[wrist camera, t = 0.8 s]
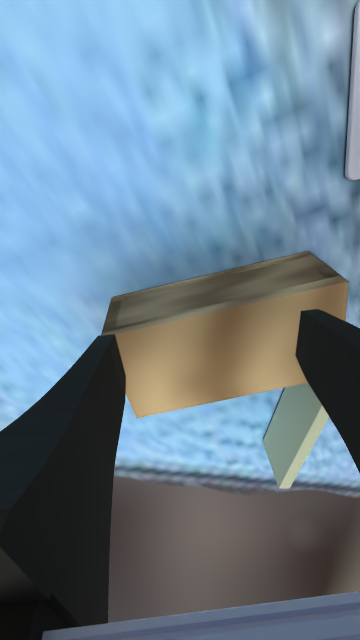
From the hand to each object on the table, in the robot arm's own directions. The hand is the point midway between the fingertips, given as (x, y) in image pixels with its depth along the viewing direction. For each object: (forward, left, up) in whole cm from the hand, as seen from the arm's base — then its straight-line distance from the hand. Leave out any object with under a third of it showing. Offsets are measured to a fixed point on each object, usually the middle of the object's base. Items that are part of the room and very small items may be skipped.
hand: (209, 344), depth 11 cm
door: (-6, +16, -10) cm, 20 cm away
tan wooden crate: (-1, +5, -10) cm, 12 cm away
